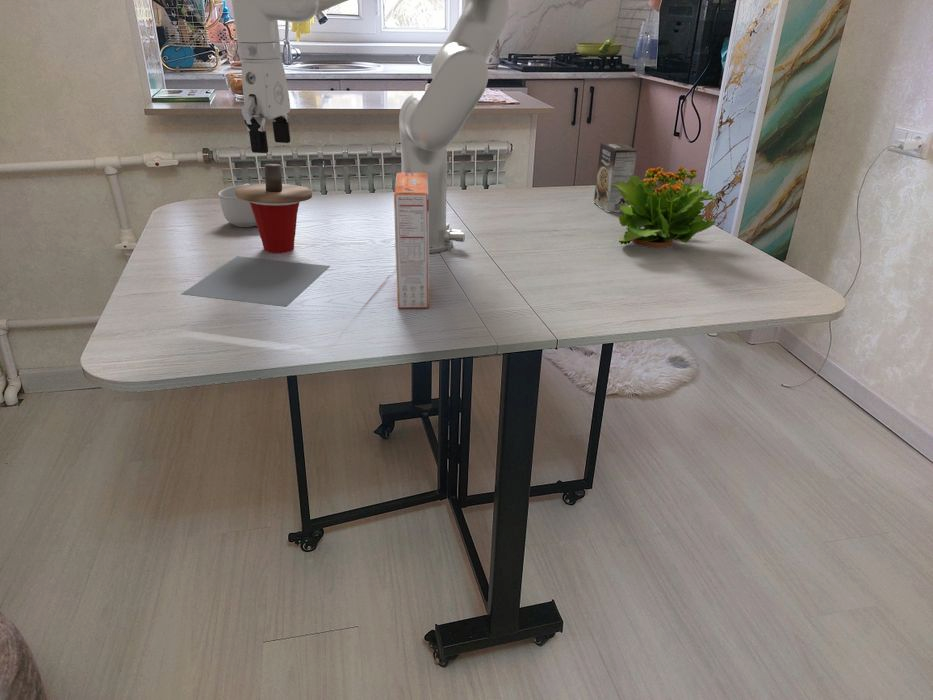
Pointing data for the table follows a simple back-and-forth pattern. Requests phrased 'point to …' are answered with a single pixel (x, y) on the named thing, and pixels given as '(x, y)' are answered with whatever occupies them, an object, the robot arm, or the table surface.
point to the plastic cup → (276, 225)
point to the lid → (273, 189)
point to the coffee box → (613, 174)
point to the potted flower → (662, 208)
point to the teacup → (236, 208)
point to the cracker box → (412, 239)
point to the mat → (258, 281)
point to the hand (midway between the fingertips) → (271, 147)
